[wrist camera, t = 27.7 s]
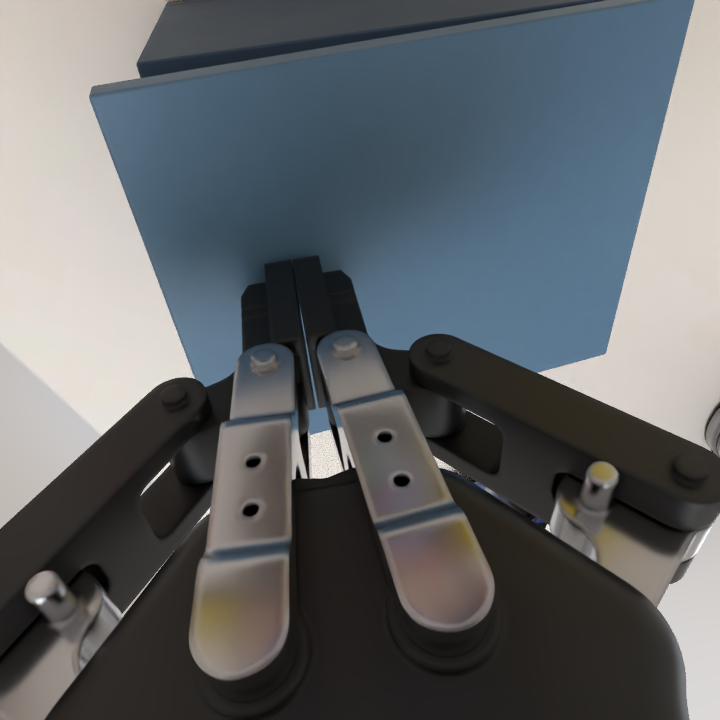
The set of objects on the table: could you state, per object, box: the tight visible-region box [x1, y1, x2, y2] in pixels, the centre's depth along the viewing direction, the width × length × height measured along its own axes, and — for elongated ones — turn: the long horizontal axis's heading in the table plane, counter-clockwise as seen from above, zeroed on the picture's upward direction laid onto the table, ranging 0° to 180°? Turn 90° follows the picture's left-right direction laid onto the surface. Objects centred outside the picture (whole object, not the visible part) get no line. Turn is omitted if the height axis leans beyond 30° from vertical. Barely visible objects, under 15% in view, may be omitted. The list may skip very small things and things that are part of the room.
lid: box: [89, 0, 694, 435], centre depth 17 cm, size 14×12×1 cm
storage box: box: [137, 0, 605, 78], centre depth 21 cm, size 14×12×9 cm
